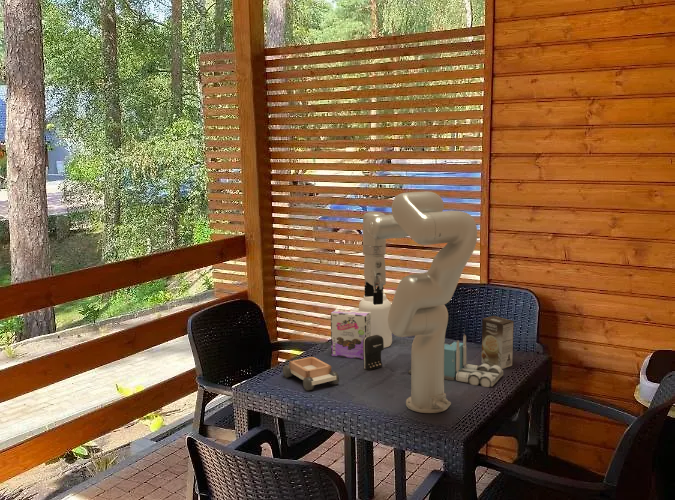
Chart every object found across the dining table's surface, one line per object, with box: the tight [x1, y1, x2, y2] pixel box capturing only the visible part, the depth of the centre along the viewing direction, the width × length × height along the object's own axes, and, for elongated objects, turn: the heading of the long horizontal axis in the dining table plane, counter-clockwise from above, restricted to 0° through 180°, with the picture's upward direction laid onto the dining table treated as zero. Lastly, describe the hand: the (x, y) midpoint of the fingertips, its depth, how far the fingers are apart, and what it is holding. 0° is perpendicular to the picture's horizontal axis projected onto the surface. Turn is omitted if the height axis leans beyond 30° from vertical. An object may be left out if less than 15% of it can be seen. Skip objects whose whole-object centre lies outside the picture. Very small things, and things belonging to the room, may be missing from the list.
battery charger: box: [363, 334, 385, 371], centre depth 230 cm, size 7×4×11 cm, turn 126°
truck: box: [408, 328, 504, 388], centre depth 222 cm, size 12×29×15 cm, turn 60°
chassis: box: [282, 356, 340, 392], centre depth 220 cm, size 18×11×6 cm, turn 32°
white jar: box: [358, 292, 393, 349], centre depth 256 cm, size 12×12×20 cm
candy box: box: [330, 308, 371, 360], centre depth 244 cm, size 14×6×16 cm, turn 67°
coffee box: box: [481, 315, 515, 370], centre depth 231 cm, size 9×6×16 cm
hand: (373, 300), depth 224 cm, fingers open, 9 cm apart
